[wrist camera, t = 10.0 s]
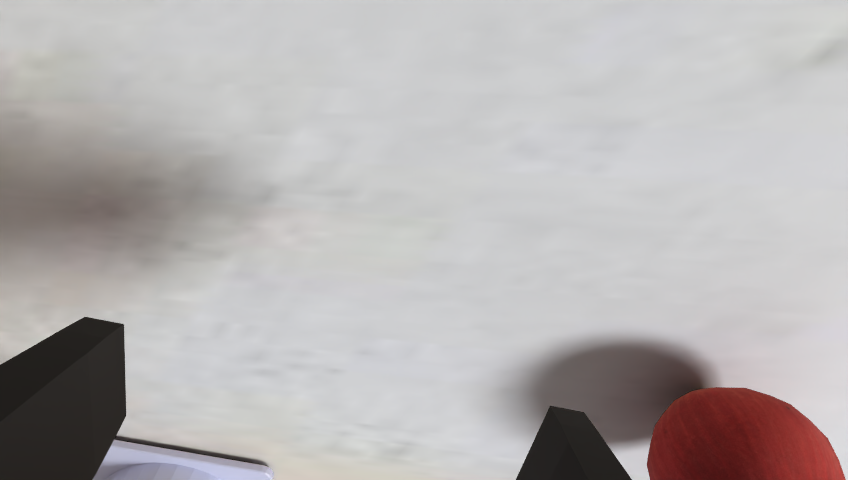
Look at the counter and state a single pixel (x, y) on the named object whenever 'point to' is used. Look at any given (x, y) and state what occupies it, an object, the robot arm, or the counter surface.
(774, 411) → the onion
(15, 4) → the counter surface
